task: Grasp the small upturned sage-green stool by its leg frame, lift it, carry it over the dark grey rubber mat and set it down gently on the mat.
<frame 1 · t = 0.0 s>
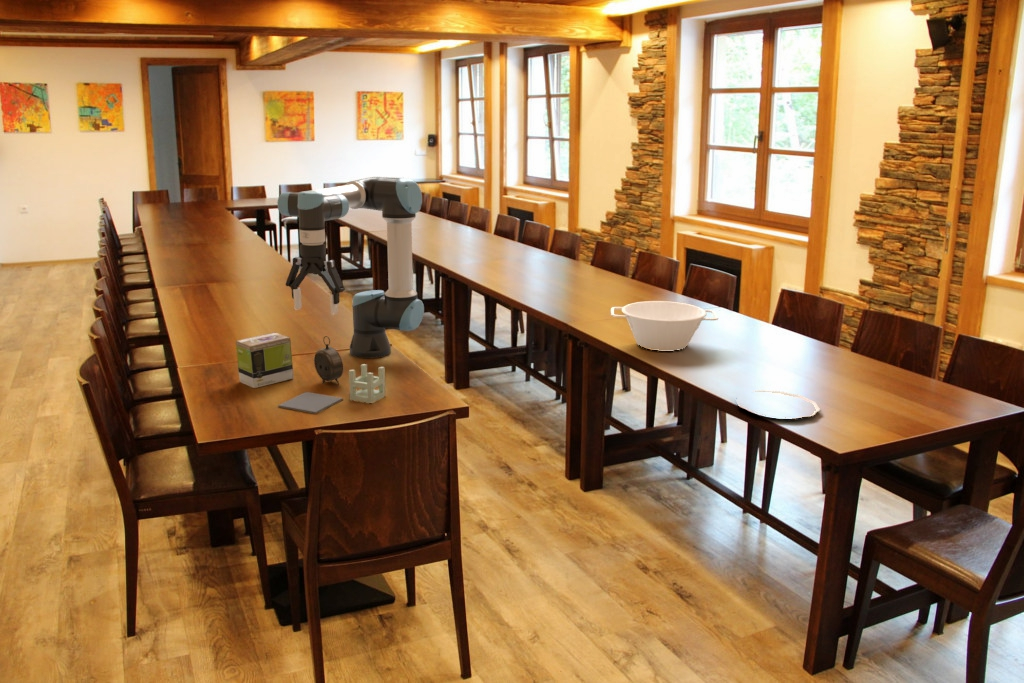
hand: (316, 311, 274), 28 cm above the table, fingers open, 13 cm apart
alarm clock: (328, 383, 296), on the table
plate: (776, 410, 276), on the table
tea box: (266, 381, 298), on the table
stool: (367, 398, 282), on the table
pot: (661, 346, 344), on the table
mat: (310, 403, 276), on the table
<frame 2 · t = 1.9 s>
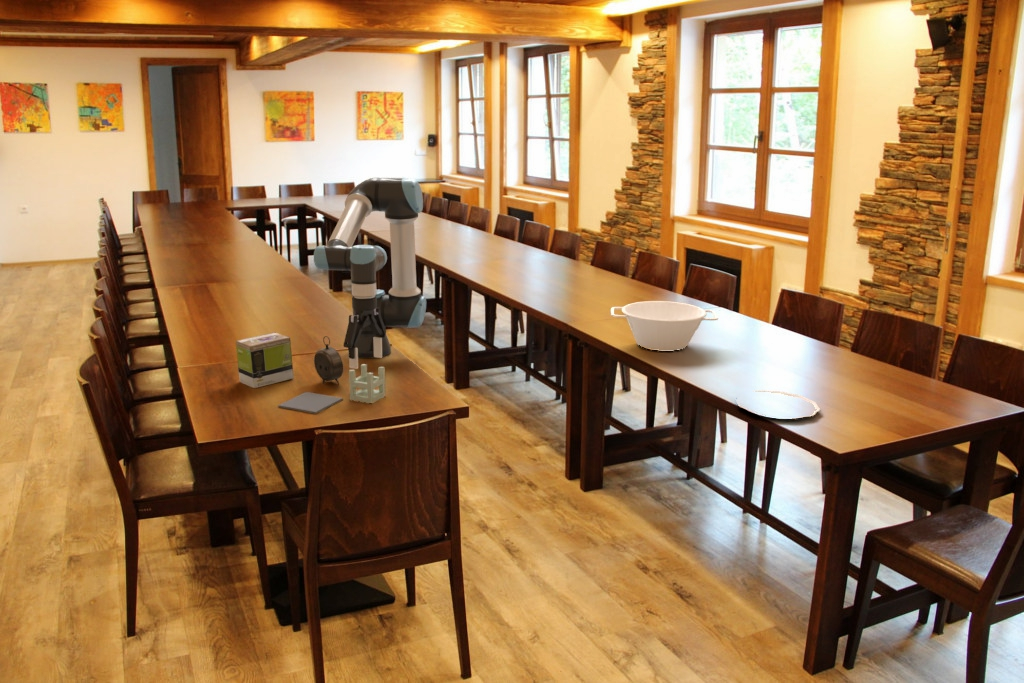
hand: (366, 362, 278), 12 cm above the table, fingers open, 13 cm apart
nothing on the table moved.
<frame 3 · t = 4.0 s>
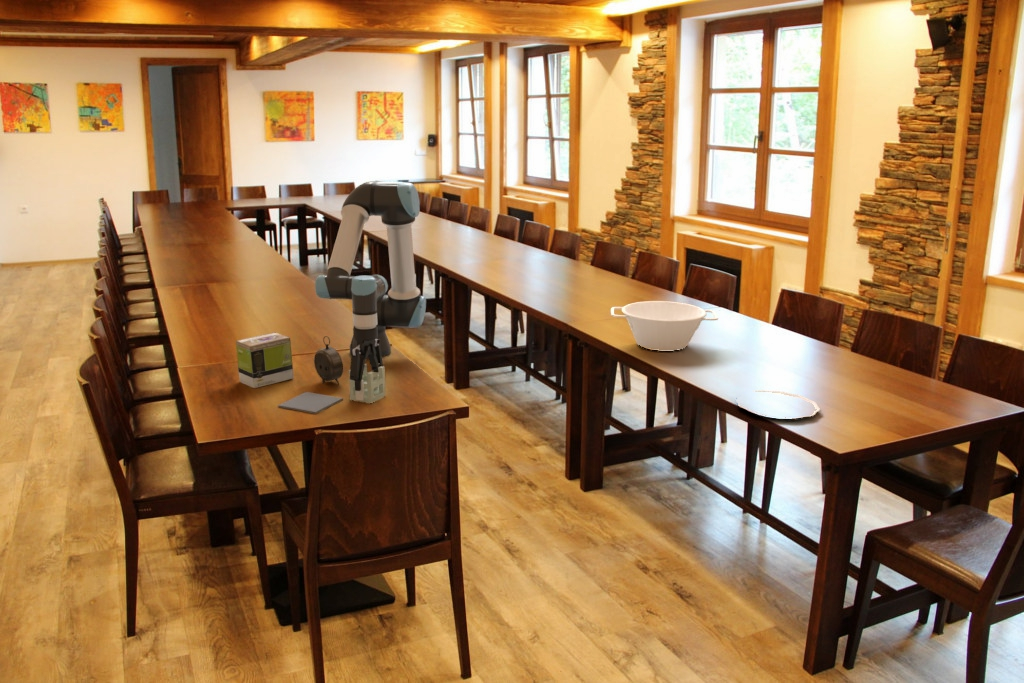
hand: (367, 395, 282), 1 cm above the table, fingers closed on stool, 8 cm apart
stool: (367, 398, 282), on the table, touching gripper
everything else where it was.
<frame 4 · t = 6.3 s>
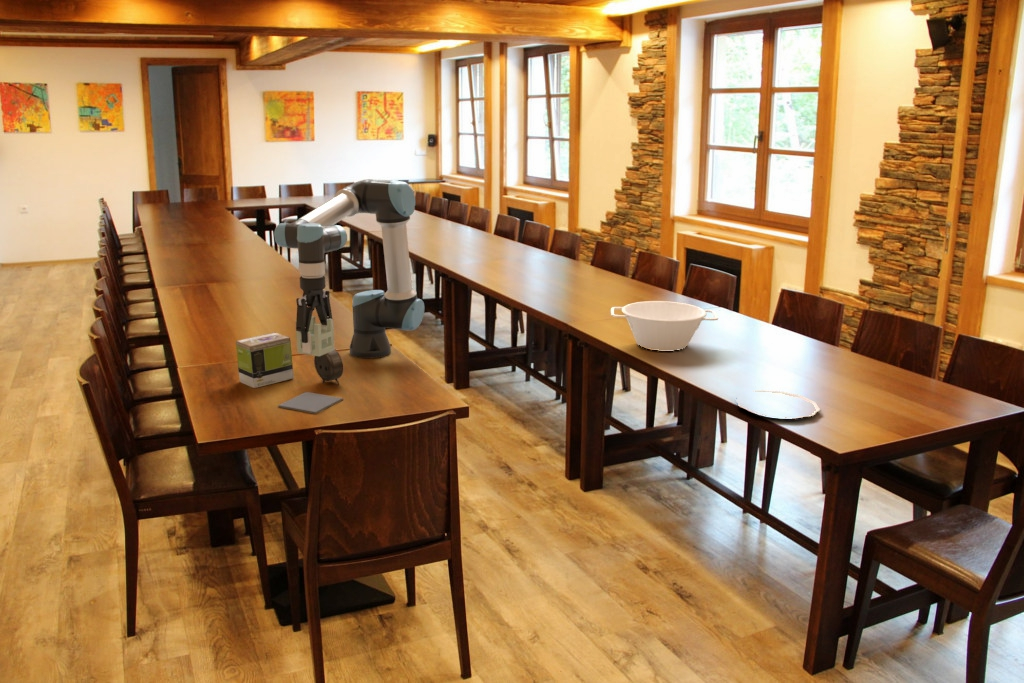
hand: (315, 348, 272), 18 cm above the table, fingers closed on stool, 8 cm apart
stool: (316, 351, 272), point 17 cm above the table, touching gripper
everything else where it was.
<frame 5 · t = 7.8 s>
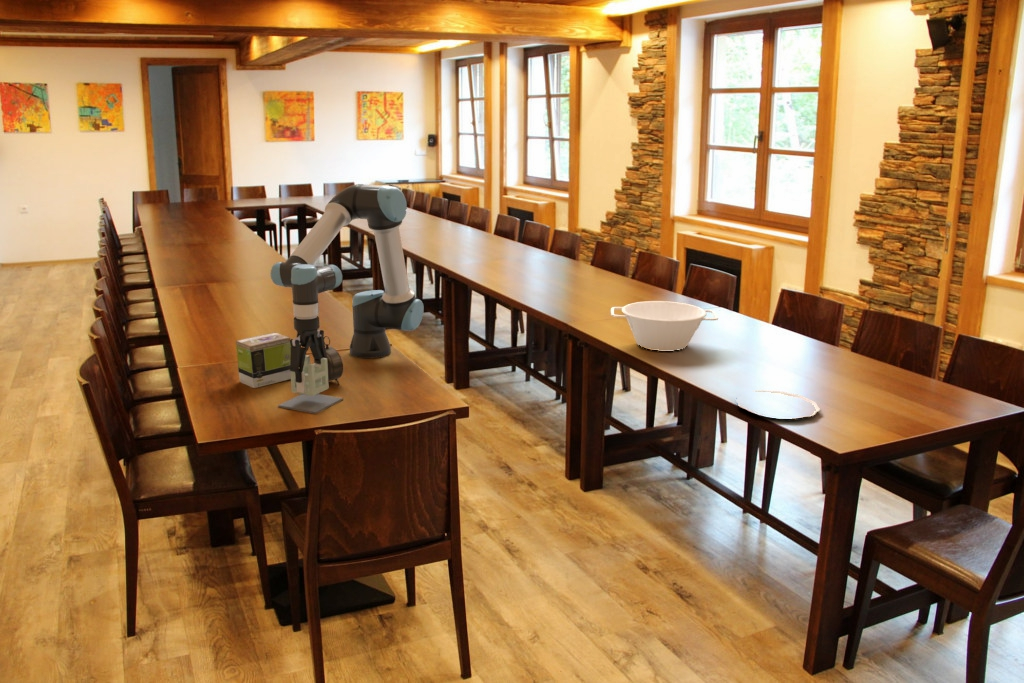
hand: (310, 387, 275), 5 cm above the table, fingers closed on stool, 8 cm apart
stool: (310, 390, 275), point 4 cm above the table, touching gripper
everything else where it was.
when the fingers open (2 cm above the table, at t = 9.1 s): stool stays where it is, resting on mat.
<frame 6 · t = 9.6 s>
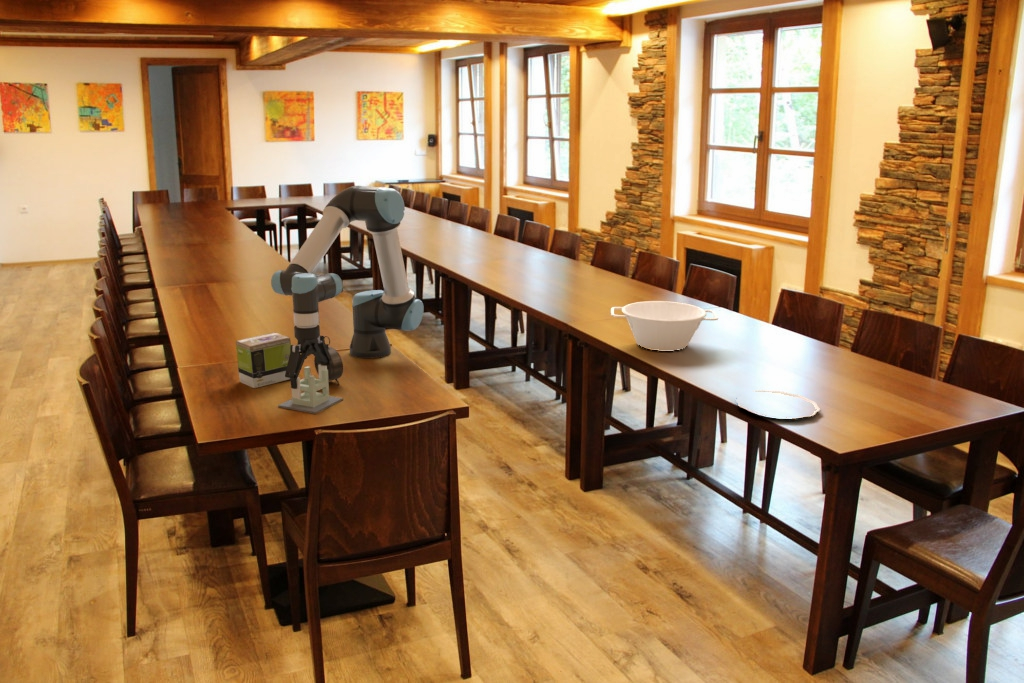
hand: (310, 391, 275), 4 cm above the table, fingers open, 13 cm apart
stool: (311, 401, 276), point 1 cm above the table, touching mat
everything else where it was.
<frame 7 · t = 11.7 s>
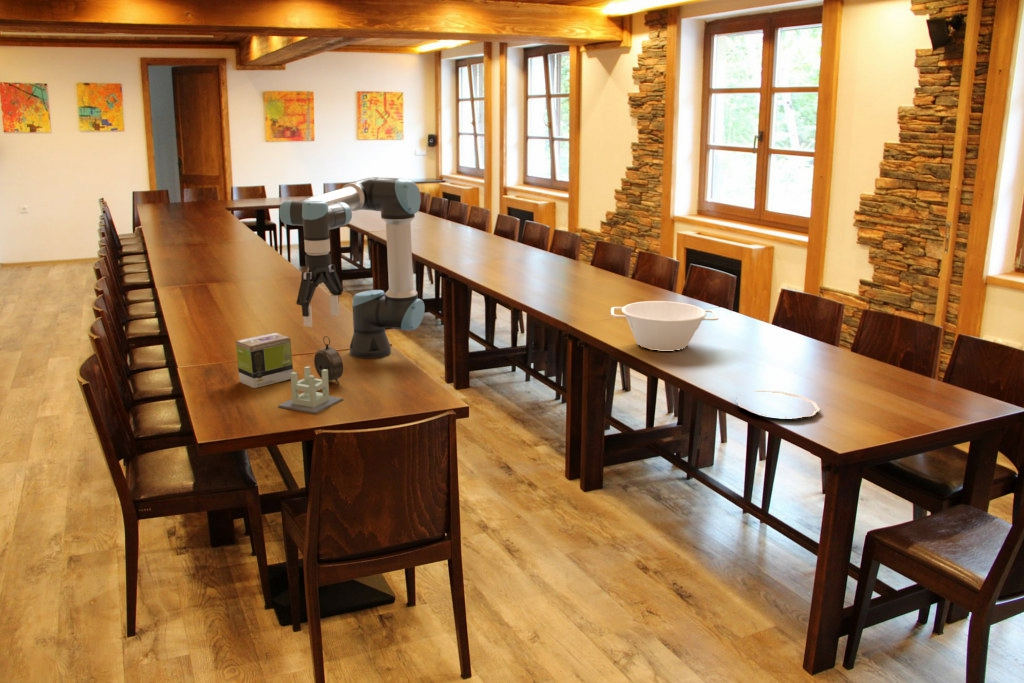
hand: (321, 320, 274), 25 cm above the table, fingers open, 13 cm apart
nothing on the table moved.
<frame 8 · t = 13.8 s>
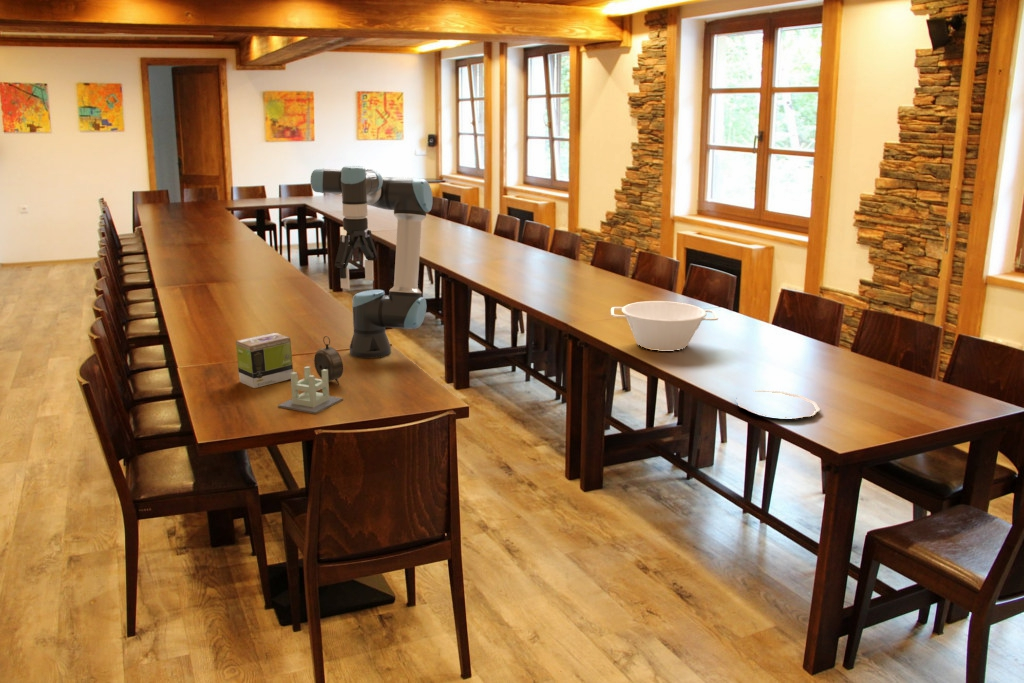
hand: (357, 284, 281), 35 cm above the table, fingers open, 13 cm apart
nothing on the table moved.
at the end: stool inside the target area on the mat (0.0 cm from its centre), point 0.6 cm above the mat's base; stool tilted 0°; the gripper is holding nothing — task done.
